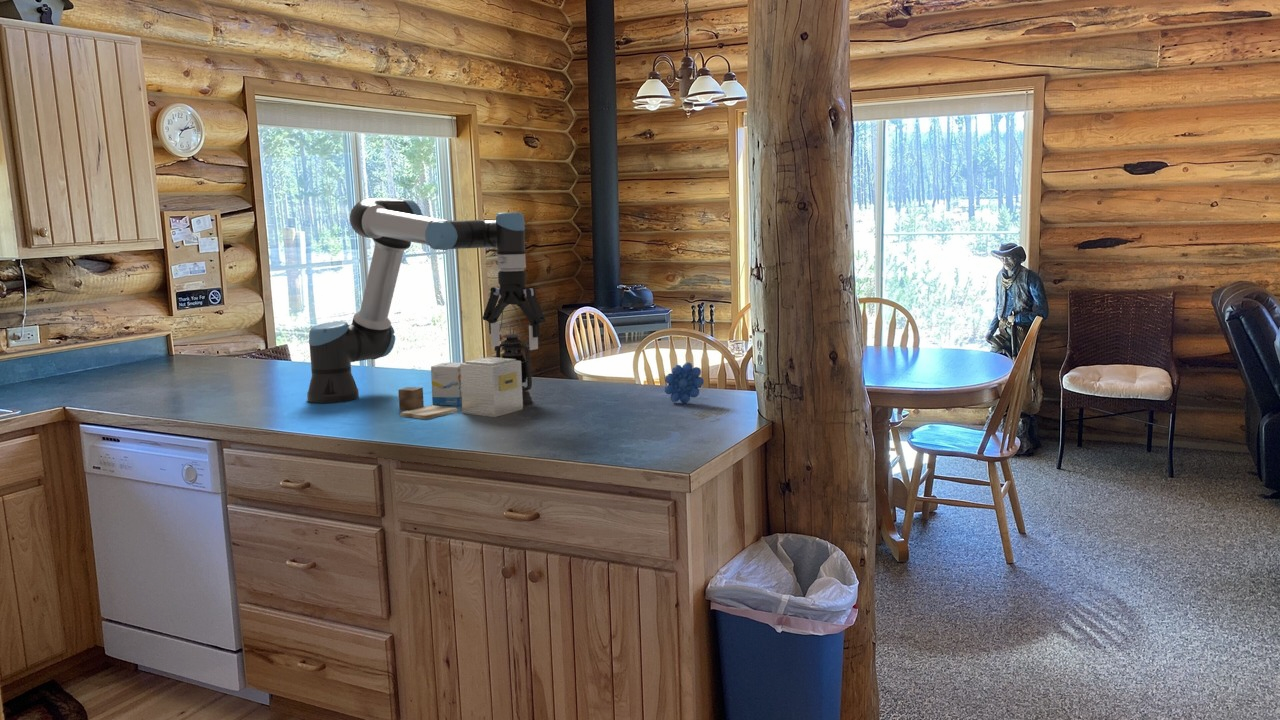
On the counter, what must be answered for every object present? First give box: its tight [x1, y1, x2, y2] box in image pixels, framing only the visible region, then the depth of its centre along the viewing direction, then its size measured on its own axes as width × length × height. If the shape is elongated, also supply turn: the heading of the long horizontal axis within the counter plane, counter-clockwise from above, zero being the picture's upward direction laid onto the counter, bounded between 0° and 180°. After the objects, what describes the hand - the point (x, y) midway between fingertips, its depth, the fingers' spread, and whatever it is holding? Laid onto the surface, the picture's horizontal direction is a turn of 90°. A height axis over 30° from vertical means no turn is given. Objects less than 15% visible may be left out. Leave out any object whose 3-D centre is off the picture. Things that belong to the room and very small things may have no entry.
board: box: [400, 404, 458, 420], centre depth 269 cm, size 10×12×1 cm
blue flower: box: [664, 362, 704, 404], centre depth 276 cm, size 12×7×12 cm, turn 74°
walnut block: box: [397, 386, 425, 412], centre depth 276 cm, size 5×5×6 cm
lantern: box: [494, 304, 533, 406], centre depth 280 cm, size 12×11×30 cm
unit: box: [460, 356, 524, 418], centre depth 269 cm, size 12×12×15 cm
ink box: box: [430, 361, 464, 407], centre depth 283 cm, size 9×8×12 cm
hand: (514, 347), depth 261 cm, fingers open, 13 cm apart
